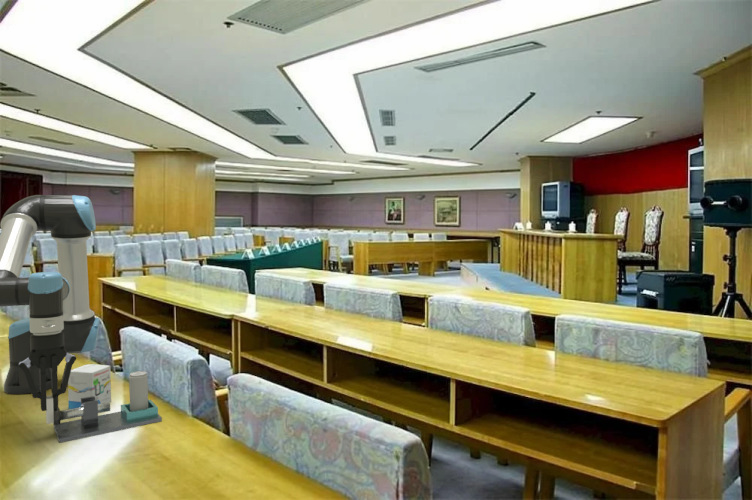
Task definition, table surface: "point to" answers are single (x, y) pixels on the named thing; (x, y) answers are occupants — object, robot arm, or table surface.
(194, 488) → the table surface
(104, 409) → the shaft
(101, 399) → the ink box
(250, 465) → the table surface
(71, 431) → the bolt fixture plate
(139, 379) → the beverage can
